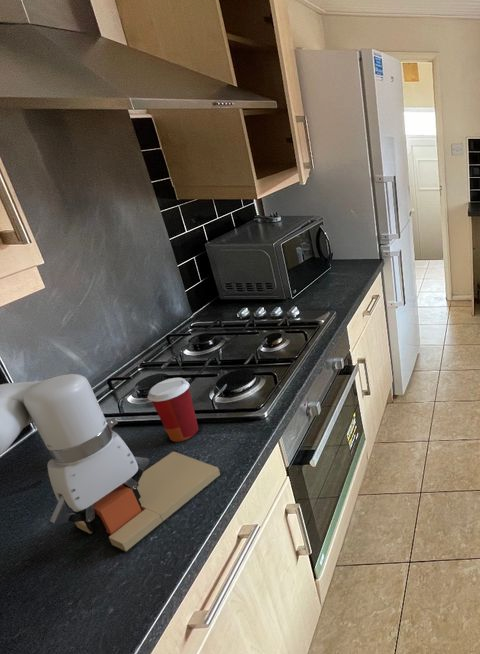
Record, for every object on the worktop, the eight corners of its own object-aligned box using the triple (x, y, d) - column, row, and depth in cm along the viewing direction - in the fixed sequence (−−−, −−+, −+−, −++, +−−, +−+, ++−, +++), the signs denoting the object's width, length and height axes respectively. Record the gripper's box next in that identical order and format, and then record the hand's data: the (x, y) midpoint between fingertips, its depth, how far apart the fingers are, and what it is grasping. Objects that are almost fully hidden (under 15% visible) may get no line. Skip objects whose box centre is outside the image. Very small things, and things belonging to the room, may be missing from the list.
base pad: (126, 551, 75) (122, 544, 74) (77, 527, 79) (73, 520, 78) (220, 474, 90) (218, 467, 90) (175, 457, 95) (173, 451, 94)
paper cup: (203, 418, 107) (187, 372, 102) (204, 435, 101) (188, 388, 96) (164, 431, 103) (146, 384, 97) (163, 450, 97) (144, 401, 92)
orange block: (112, 535, 76) (100, 511, 74) (94, 526, 78) (82, 503, 75) (142, 512, 80) (132, 489, 78) (125, 504, 82) (114, 481, 80)
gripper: (123, 406, 81) (153, 476, 87) (0, 474, 66) (47, 552, 72) (149, 415, 79) (177, 486, 85) (28, 487, 64) (73, 567, 70)
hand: (117, 516), depth 79 cm, fingers closed on orange block, 4 cm apart
